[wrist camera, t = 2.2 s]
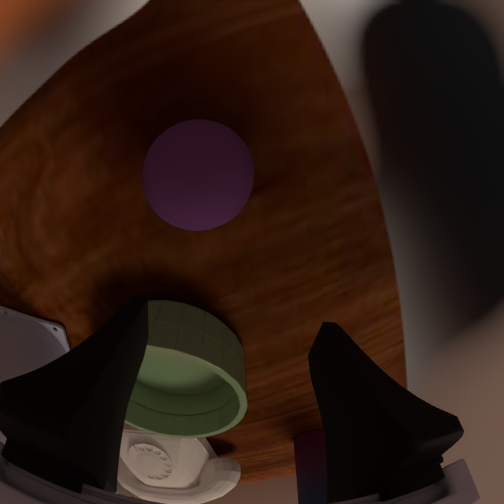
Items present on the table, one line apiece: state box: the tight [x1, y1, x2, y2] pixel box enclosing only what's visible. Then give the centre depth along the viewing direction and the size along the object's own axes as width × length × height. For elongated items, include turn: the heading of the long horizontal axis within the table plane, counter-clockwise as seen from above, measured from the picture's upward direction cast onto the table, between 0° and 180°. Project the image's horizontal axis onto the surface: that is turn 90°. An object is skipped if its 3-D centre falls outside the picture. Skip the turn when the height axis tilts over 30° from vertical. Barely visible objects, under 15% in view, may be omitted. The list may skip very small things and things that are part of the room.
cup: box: [294, 430, 327, 504], centre depth 28 cm, size 7×7×15 cm
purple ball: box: [142, 119, 254, 231], centre depth 15 cm, size 6×6×6 cm
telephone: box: [117, 423, 241, 504], centre depth 30 cm, size 16×20×9 cm
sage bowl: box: [111, 300, 248, 438], centre depth 23 cm, size 13×13×6 cm
